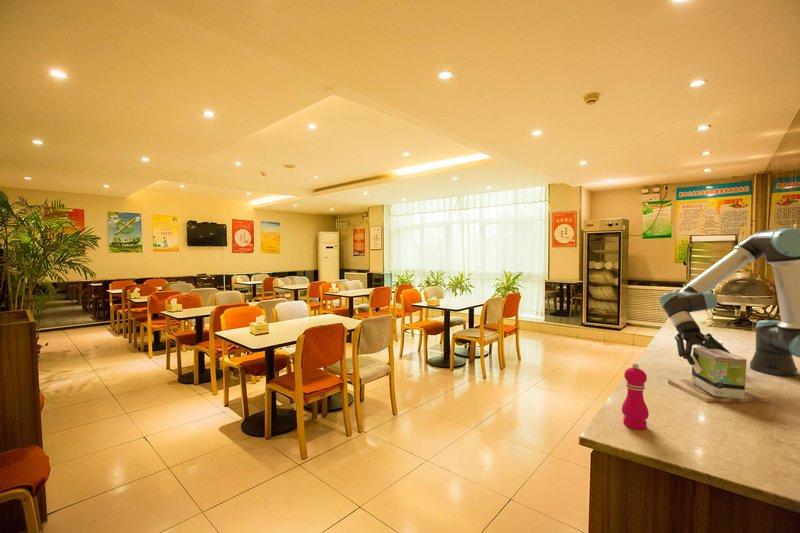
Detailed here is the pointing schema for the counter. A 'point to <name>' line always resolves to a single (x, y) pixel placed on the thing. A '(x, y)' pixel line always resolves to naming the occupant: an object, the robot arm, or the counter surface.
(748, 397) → the oak board
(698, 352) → the tea box
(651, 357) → the counter surface
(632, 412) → the pepper mill
